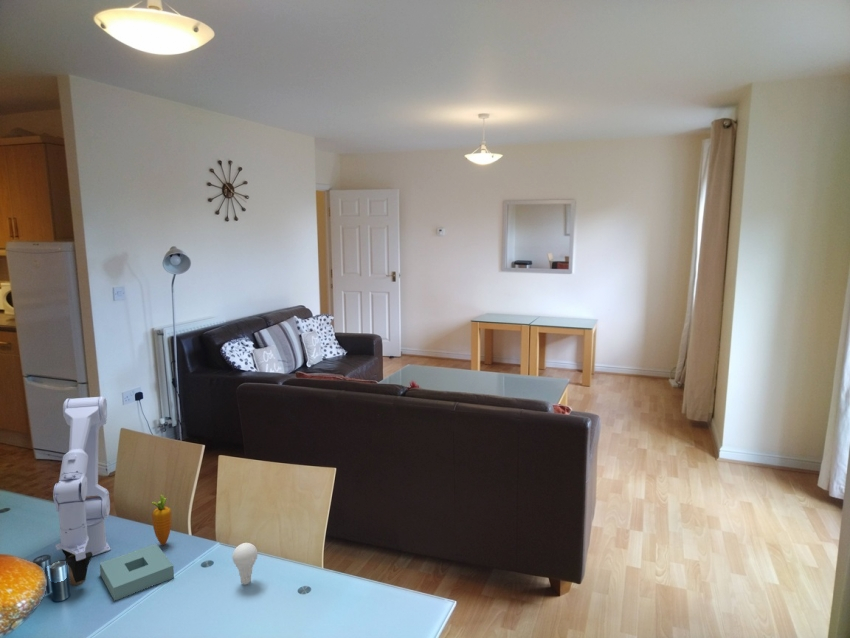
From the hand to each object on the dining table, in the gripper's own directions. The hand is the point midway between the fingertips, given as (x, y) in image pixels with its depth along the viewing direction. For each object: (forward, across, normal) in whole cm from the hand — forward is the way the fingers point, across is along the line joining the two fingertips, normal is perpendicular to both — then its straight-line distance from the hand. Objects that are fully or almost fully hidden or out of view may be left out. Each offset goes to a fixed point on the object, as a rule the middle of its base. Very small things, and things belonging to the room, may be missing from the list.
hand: (77, 573), depth 139 cm
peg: (+2, 0, 0) cm, 2 cm away
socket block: (+2, +8, +12) cm, 15 cm away
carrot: (+2, -3, +22) cm, 22 cm away
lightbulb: (+2, +30, +32) cm, 44 cm away
